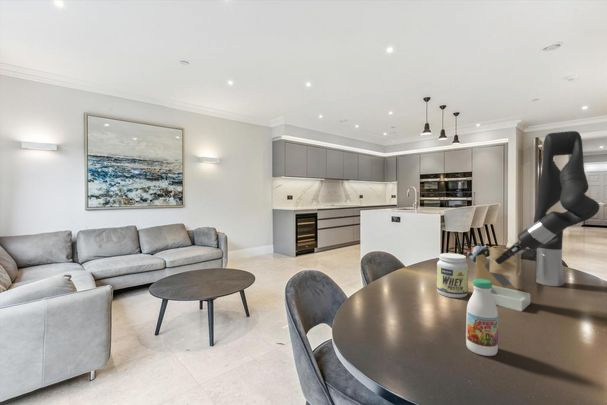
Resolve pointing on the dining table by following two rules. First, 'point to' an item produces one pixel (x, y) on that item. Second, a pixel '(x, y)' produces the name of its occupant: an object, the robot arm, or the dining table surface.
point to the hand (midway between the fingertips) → (500, 261)
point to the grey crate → (510, 298)
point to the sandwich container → (490, 274)
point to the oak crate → (508, 266)
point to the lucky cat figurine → (478, 252)
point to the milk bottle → (482, 320)
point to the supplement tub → (452, 275)
